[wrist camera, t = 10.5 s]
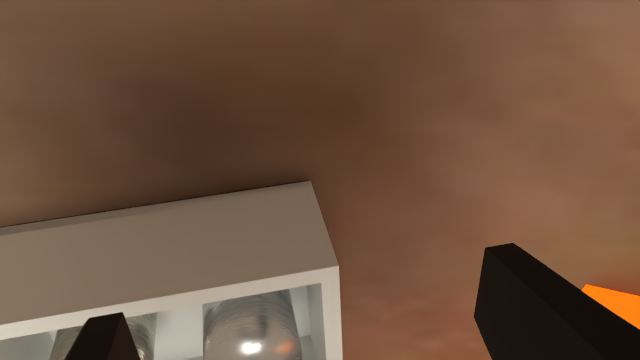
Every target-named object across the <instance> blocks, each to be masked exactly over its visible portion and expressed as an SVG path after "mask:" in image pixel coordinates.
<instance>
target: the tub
mask: <svg viewBox="0 0 640 360" xmlns="http://www.w3.org/2000/svg"><path fill="white" fill-rule="evenodd" d="M284 289H289V291H290V296H291V300H292V305H293V310H294V315H295V320H296V325H297V329H298V334H299V339H300V344H301V349H302V360H343V356H342V332H341V307H340V282H339V265H338V262H337V259H336V256H335V253H334V250H333V247H332V244H331V241H330V238H329V235H328V232H327V229H326V226H325V223H324V220H323V217H322V214H321V211H320V208H319V205H318V202H317V199H316V196H315V192H314V189H313V186H312V183H311V181H305V182H298V183H292V184H285V185H279V186H272V187H265V188H259V189H252V190H246V191H239V192H232V193H226V194H219V195H213V196H206V197H200V198H193V199H186V200H180V201H173V202H167V203H160V204H153V205H147V206H140V207H134V208H127V209H120V210H114V211H107V212H101V213H94V214H87V215H81V216H74V217H68V218H61V219H54V220H48V221H41V222H35V223H28V224H21V225H15V226H8V227H2V228H0V360H49V359H50V355H51V351H52V348H53V344H54V340H55V337H56V333H57V330H59V329H65V328H70V327H76V326H82V325H84V323H85V322H86V321H87V320H88V319H89V318H91V317H97V316H102V315H108V314H114V313H119V312H123V314H124V316H125V318H127V317H132V316H138V315H143V314H149V313H155V312H157V322H156V335H155V348H154V360H203V324H202V304H205V303H211V302H216V301H222V300H227V299H233V298H239V297H244V296H250V295H255V294H261V293H267V292H272V291H278V290H284Z"/></svg>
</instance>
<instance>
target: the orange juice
mask: <svg viewBox="0 0 640 360" xmlns="http://www.w3.org/2000/svg"><path fill="white" fill-rule="evenodd" d="M581 291H583V292H584V293H586V294H587V295H588V296H590V297H591V298H593V299H594V300H596V301H597V302H599V303H600V304H602V305H603V306H605V307H606V308H608V309H609V310H611V311H612V312H614V313H615V314H617V315H618V316H620V317H621V318H623V319H624V320H626V321H628V322H629V323H631V324H632V325H634V326H635V327H637V328H638V329H640V296H636V295H632V294H627V293H623V292H618V291H614V290H609V289H605V288H600V287H595V286H591V285H585V286H584V287H583V288H582V290H581Z"/></svg>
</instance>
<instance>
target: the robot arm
mask: <svg viewBox="0 0 640 360" xmlns="http://www.w3.org/2000/svg"><path fill="white" fill-rule="evenodd" d="M474 318H475V321H476V323H477V325H478V328H479V330H480V333H481V335H482V338H483V340H484V342H485V345H486V347H487V349H488V351H489V354H490V356H491V358H492V360H640V329H638V328H637V327H635V326H634V325H632V324H631V323H629V322H628V321H626V320H624V319H623V318H621V317H620V316H618V315H617V314H615V313H614V312H612V311H611V310H609V309H608V308H606V307H605V306H603V305H602V304H600V303H599V302H597V301H596V300H594V299H593V298H591V297H590V296H588V295H587V294H586V293H584V292H583V291H581V290H580V289H578V288H577V287H575V286H574V285H573V284H571V283H570V282H568V281H567V280H565V279H564V278H563V277H561V276H560V275H558V274H557V273H555V272H554V271H553V270H551V269H550V268H548V267H547V266H546V265H544V264H543V263H541V262H540V261H539V260H537V259H536V258H534V257H533V256H531V255H530V254H529V253H527V252H526V251H524V250H523V249H521V248H520V247H518V246H517V245H515V244H514V243H510V244H504V245H498V246H493V247H487V248H485V252H484V258H483V264H482V270H481V276H480V282H479V288H478V295H477V301H476V307H475V313H474ZM64 360H141V359H140V357H139V354H138V351H137V349H136V346H135V343H134V340H133V338H132V335H131V332H130V330H129V327H128V324H127V322H126V319H125V316H124V314H123V312H119V313H114V314H108V315H102V316H97V317H91V318H89V319H88V320H87V321H86V322H85V323H84V325H83V327H82V329H81V331H80V332H79V334H78V336H77V338H76V339H75V341H74V343H73V345H72V347H71V348H70V350H69V352H68V354H67V355H66V357H65V359H64Z"/></svg>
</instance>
